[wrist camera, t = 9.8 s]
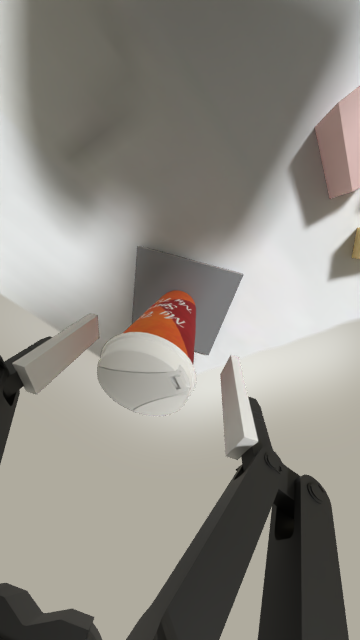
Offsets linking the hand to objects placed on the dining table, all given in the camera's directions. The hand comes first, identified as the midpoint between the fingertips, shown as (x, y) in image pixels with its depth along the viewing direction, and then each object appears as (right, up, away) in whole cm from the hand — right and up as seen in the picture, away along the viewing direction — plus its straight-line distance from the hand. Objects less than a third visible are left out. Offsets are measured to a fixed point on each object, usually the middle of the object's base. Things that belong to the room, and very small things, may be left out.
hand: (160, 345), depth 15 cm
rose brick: (+16, +18, -1) cm, 24 cm away
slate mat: (+2, +5, +9) cm, 10 cm away
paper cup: (+1, +4, +8) cm, 10 cm away
